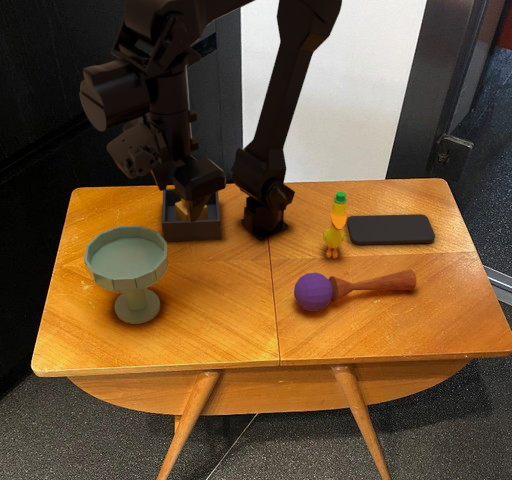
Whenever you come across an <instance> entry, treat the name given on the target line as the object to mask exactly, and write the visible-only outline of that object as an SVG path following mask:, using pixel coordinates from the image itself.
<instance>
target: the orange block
mask: <svg viewBox="0 0 512 480" xmlns="http://www.w3.org/2000/svg"><path fill="white" fill-rule="evenodd" d="M175 210H176V219H177V220H178V221H190V220H189V217H188V213H187V209H186V205H185V201H184V200H183V199H182V198H181V201H180V202H177V203H175ZM198 220H208V209H207V206H206V205H205V207H204V209H203V211H202V212H201V214H200V216H199V218H198Z"/></svg>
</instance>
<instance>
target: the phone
mask: <svg viewBox="0 0 512 480" xmlns="http://www.w3.org/2000/svg"><path fill="white" fill-rule="evenodd" d="M346 225H347V229H348V233H349V237H350V240H351V242H352V243H353V244H355V245H390V244H391V245H396V244H429V243H430V244H431V243H434V241H435V239H436V234H435V232H434V228H433V226H432V224H431V221H430V220H429V217H428V216H426V214H422V213H421V214H420V213H419V214H418V213H416V214H415V213H413V214H377V215H351V216H347V219H346Z"/></svg>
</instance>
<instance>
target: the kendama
mask: <svg viewBox="0 0 512 480" xmlns="http://www.w3.org/2000/svg"><path fill="white" fill-rule="evenodd" d="M416 286H417V275H416V273H415V271H414V270H413V269H406V270H402V271H399V272H394V273H391V274H386V275H382V276H378V277H373V278H370V279H366V280H362V281H357V282H350V281H347V280H344V279H341V278H339V277H336V276H333V275H330V276H329V277H326V276H325V275H324V274H322V273H319V272H309V273H304V275H301V276H300V277H299V279H298V280H297V281H296V283H295V284H294V289H293V297H294V299H295V301H296V303H297V305H299V306H300V307H301V308H302V309H303V310H305V311H308V312H316V311H322V310H323V309H325V308H326V307H327V306H328V305H329V304H330V302H332V303H333V304H335V303H338V301H340V300H342V299H343V298H345V297H346V296H348V295H349V294H350V293H352V292H353V291H412V290H414V289H415V288H416Z"/></svg>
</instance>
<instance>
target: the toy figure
mask: <svg viewBox="0 0 512 480" xmlns="http://www.w3.org/2000/svg"><path fill="white" fill-rule="evenodd" d="M346 197H347V193H346V192H344V191H337V192H336V193H335V196H334V197H333V201H332V207H331V210H330V211H329V213H330V214H329V215H330V227H328V228H327V229H326V231H324V230H323V234H322V237H323V238H322V239H323V242H325V243H326V244H327V246H328V248H327V250H326V253H325V256H326V258H327V259H331V257H332V258H333V259H337V257H338V255H339V254H338V251H337V248H338V247H339V246H341V245H342V243H343V242H344V241H345V237H346V236H345V235H346V233H345V232H344V231H343V229H345V226H346V225H347V219H348V216H347V215H348V214H347V211H346V208H347V204H348V203H347V202H348V199H347V198H346ZM331 249H332V250H331Z"/></svg>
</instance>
